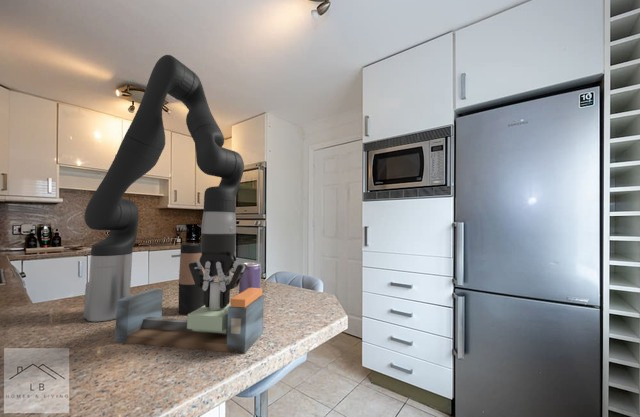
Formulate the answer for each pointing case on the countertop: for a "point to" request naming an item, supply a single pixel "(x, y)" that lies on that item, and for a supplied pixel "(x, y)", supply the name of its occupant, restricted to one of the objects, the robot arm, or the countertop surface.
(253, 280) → the beverage can
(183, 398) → the countertop surface
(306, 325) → the countertop surface
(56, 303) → the countertop surface
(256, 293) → the orange rectangular bar
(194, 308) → the travel mug
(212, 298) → the carriage
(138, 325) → the rail base
